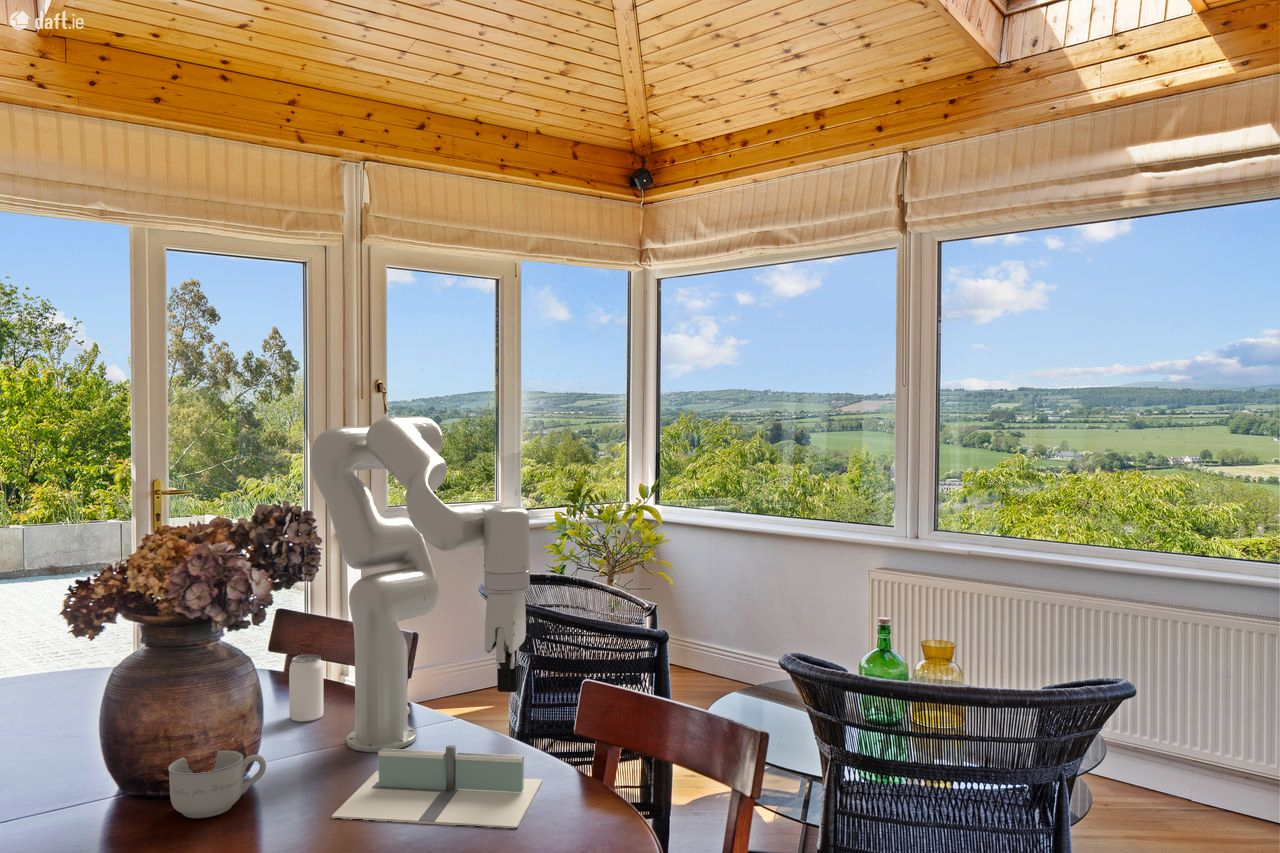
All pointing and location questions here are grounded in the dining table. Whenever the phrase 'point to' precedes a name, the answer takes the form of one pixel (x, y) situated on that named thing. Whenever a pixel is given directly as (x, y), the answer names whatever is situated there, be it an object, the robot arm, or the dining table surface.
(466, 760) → the pale open channel
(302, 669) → the can
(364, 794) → the card
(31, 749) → the dining table surface
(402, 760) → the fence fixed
